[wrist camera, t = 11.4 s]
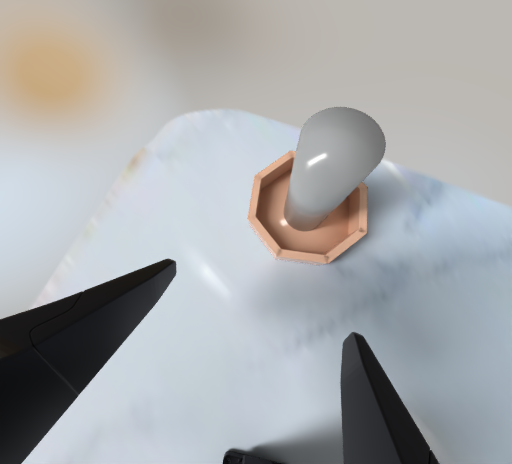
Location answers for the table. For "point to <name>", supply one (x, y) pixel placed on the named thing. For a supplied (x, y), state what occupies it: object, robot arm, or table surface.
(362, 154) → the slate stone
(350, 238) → the terracotta bowl
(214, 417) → the table surface
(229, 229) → the table surface
